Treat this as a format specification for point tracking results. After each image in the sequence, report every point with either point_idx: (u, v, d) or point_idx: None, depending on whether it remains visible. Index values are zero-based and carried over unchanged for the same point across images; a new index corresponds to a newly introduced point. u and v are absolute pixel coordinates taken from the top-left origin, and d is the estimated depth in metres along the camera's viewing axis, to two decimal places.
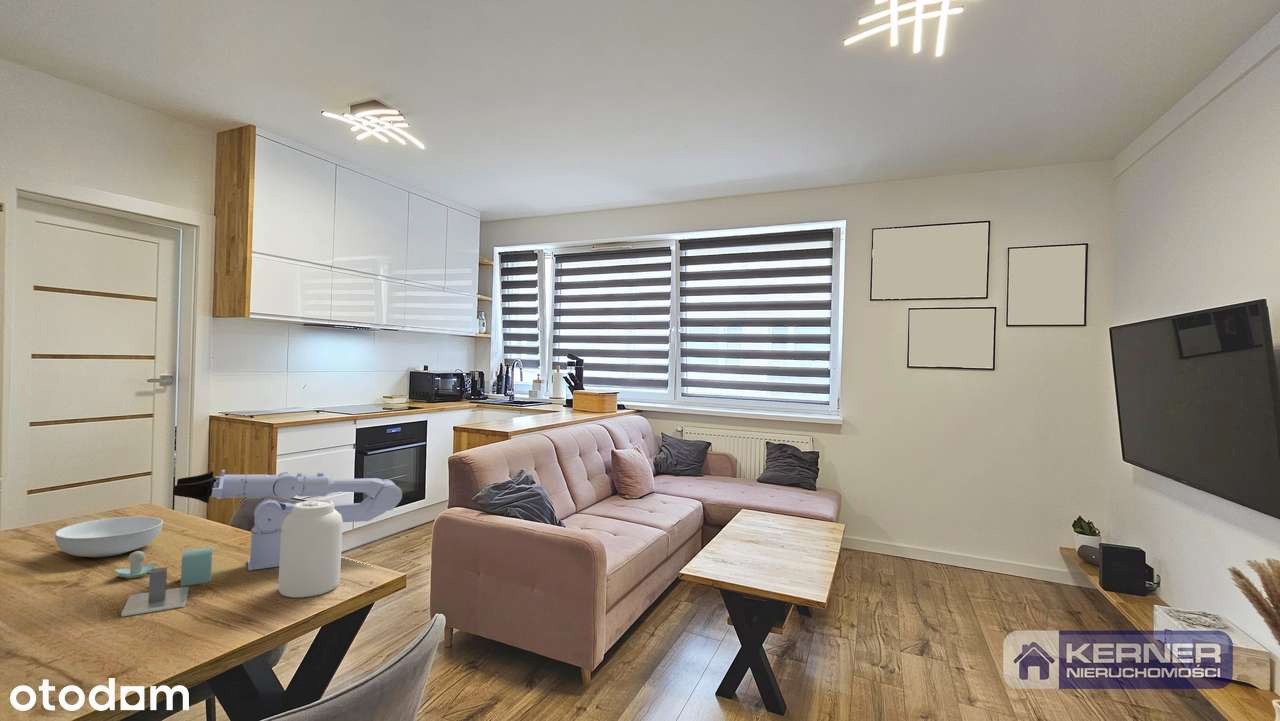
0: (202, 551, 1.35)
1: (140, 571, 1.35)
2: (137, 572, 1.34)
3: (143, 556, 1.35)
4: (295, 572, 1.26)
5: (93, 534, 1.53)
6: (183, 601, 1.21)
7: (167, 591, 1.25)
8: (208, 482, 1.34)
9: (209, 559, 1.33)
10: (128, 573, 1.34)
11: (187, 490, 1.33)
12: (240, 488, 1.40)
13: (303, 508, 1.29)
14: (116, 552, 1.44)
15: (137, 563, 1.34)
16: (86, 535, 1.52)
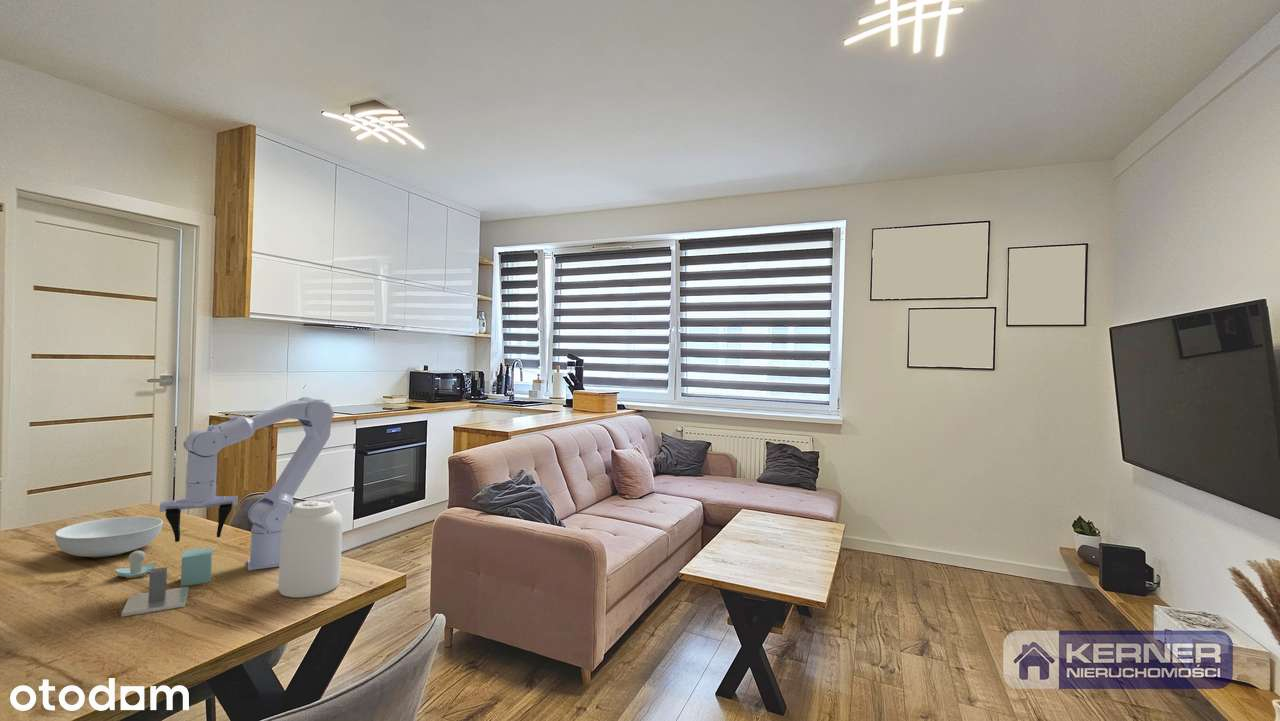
0: (202, 551, 1.35)
1: (140, 571, 1.35)
2: (137, 572, 1.34)
3: (143, 555, 1.35)
4: (295, 572, 1.26)
5: (93, 534, 1.53)
6: (183, 601, 1.21)
7: (167, 591, 1.25)
8: (230, 510, 1.35)
9: (209, 559, 1.33)
10: (128, 573, 1.34)
11: None
12: None
13: (303, 508, 1.29)
14: (116, 552, 1.44)
15: (137, 563, 1.34)
16: (86, 535, 1.52)
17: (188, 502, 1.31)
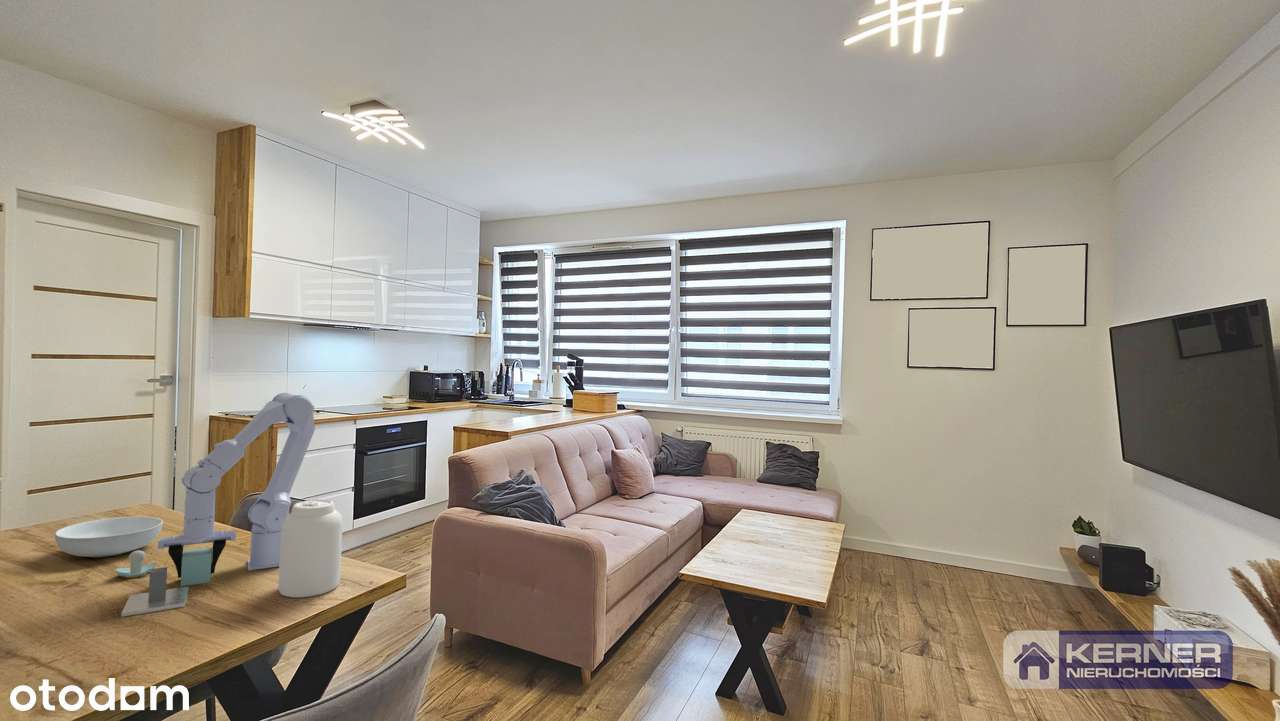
0: (202, 551, 1.35)
1: (140, 570, 1.35)
2: (137, 571, 1.35)
3: (143, 555, 1.35)
4: (295, 572, 1.26)
5: (93, 534, 1.53)
6: (183, 601, 1.21)
7: (167, 591, 1.25)
8: (224, 546, 1.35)
9: (209, 559, 1.33)
10: (128, 572, 1.34)
11: None
12: None
13: (303, 508, 1.29)
14: (116, 552, 1.44)
15: (137, 562, 1.35)
16: (86, 535, 1.52)
17: (186, 539, 1.31)
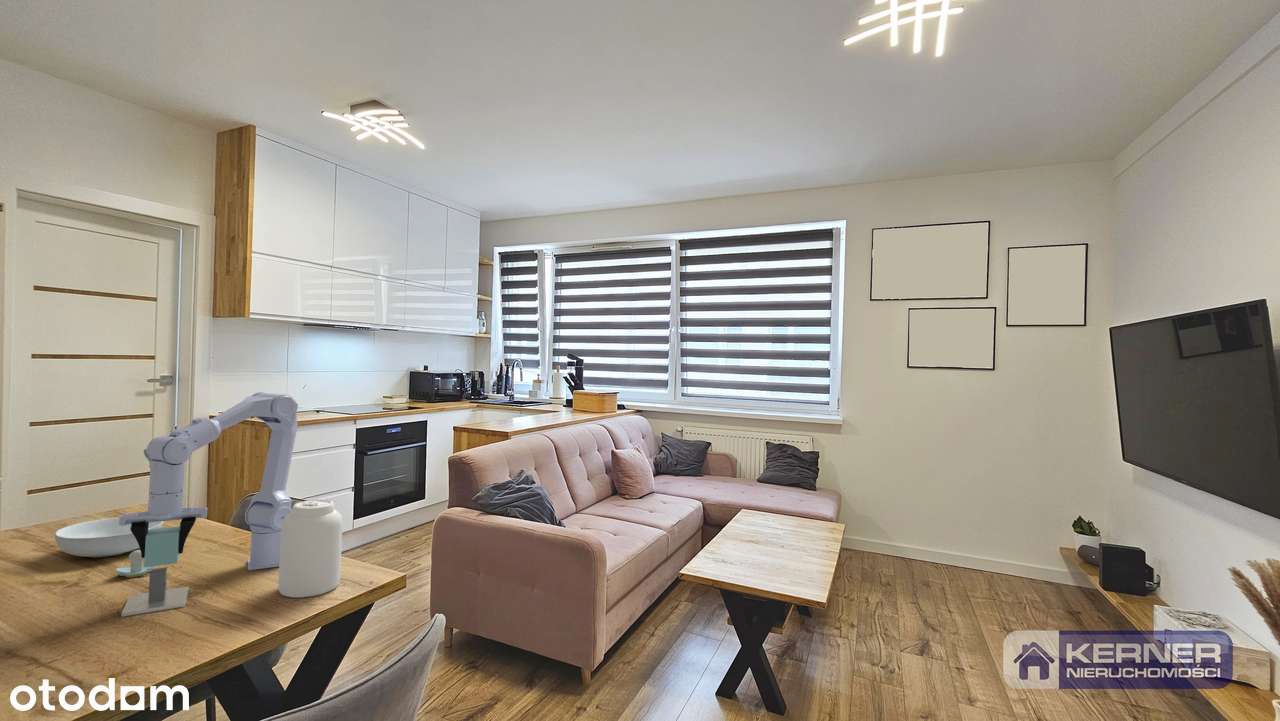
0: (170, 529, 1.24)
1: (140, 570, 1.35)
2: (137, 571, 1.35)
3: None
4: (295, 572, 1.26)
5: (93, 534, 1.53)
6: (183, 601, 1.21)
7: (167, 591, 1.25)
8: (193, 524, 1.24)
9: (176, 538, 1.22)
10: (128, 572, 1.34)
11: None
12: (182, 494, 1.24)
13: (303, 508, 1.29)
14: (116, 552, 1.44)
15: (137, 562, 1.35)
16: (86, 535, 1.52)
17: (151, 515, 1.20)
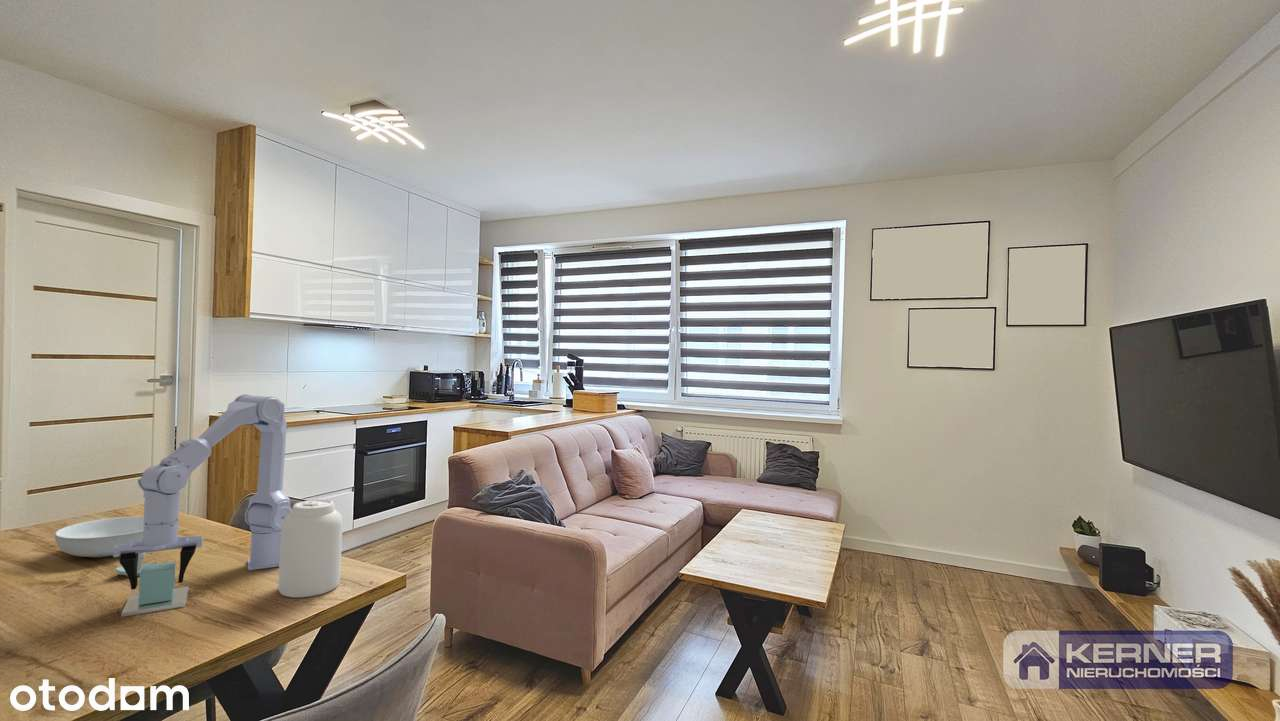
0: (164, 565, 1.22)
1: (140, 569, 1.36)
2: (137, 570, 1.35)
3: (143, 554, 1.36)
4: (295, 572, 1.26)
5: (93, 534, 1.53)
6: (183, 601, 1.21)
7: None
8: (193, 553, 1.23)
9: (171, 575, 1.21)
10: None
11: None
12: (177, 523, 1.23)
13: (303, 508, 1.29)
14: None
15: None
16: (86, 535, 1.52)
17: (145, 545, 1.18)
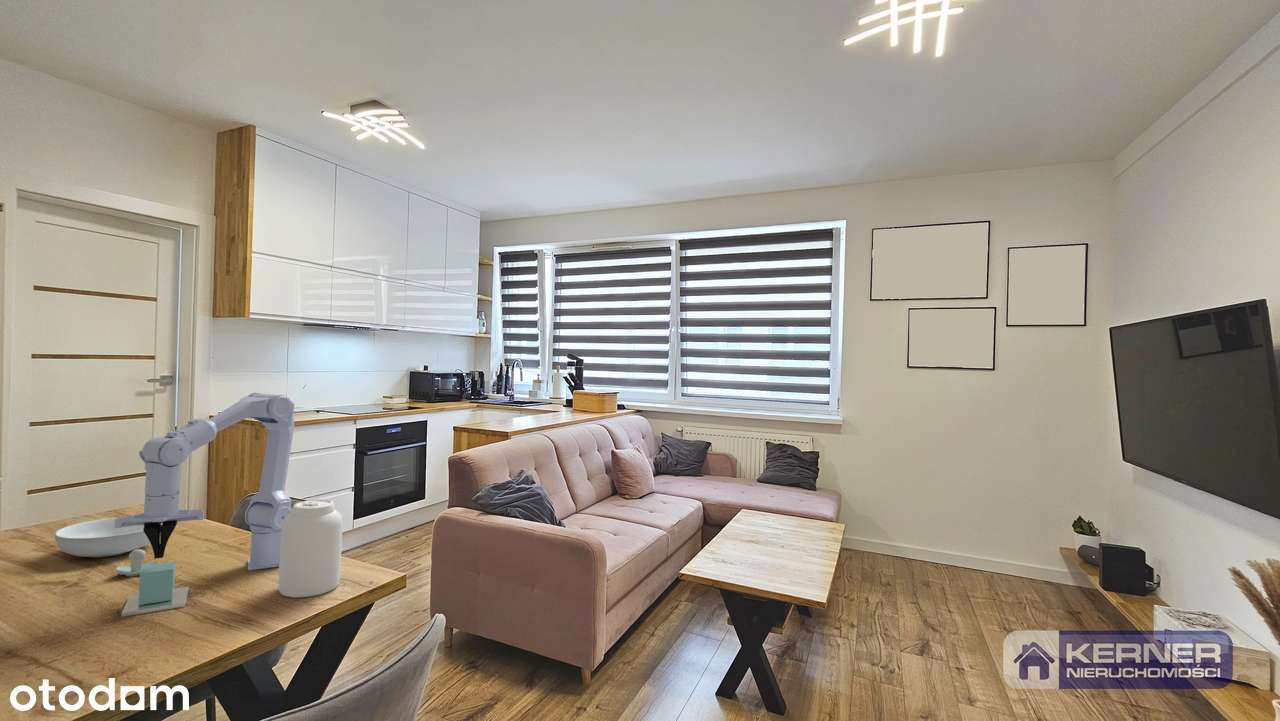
0: (164, 565, 1.22)
1: (140, 569, 1.36)
2: (137, 570, 1.36)
3: (143, 554, 1.36)
4: (295, 572, 1.26)
5: (93, 534, 1.53)
6: (183, 601, 1.21)
7: None
8: None
9: (171, 575, 1.21)
10: (129, 571, 1.35)
11: None
12: None
13: (303, 508, 1.29)
14: (116, 552, 1.44)
15: (137, 561, 1.35)
16: (86, 535, 1.52)
17: (147, 517, 1.19)
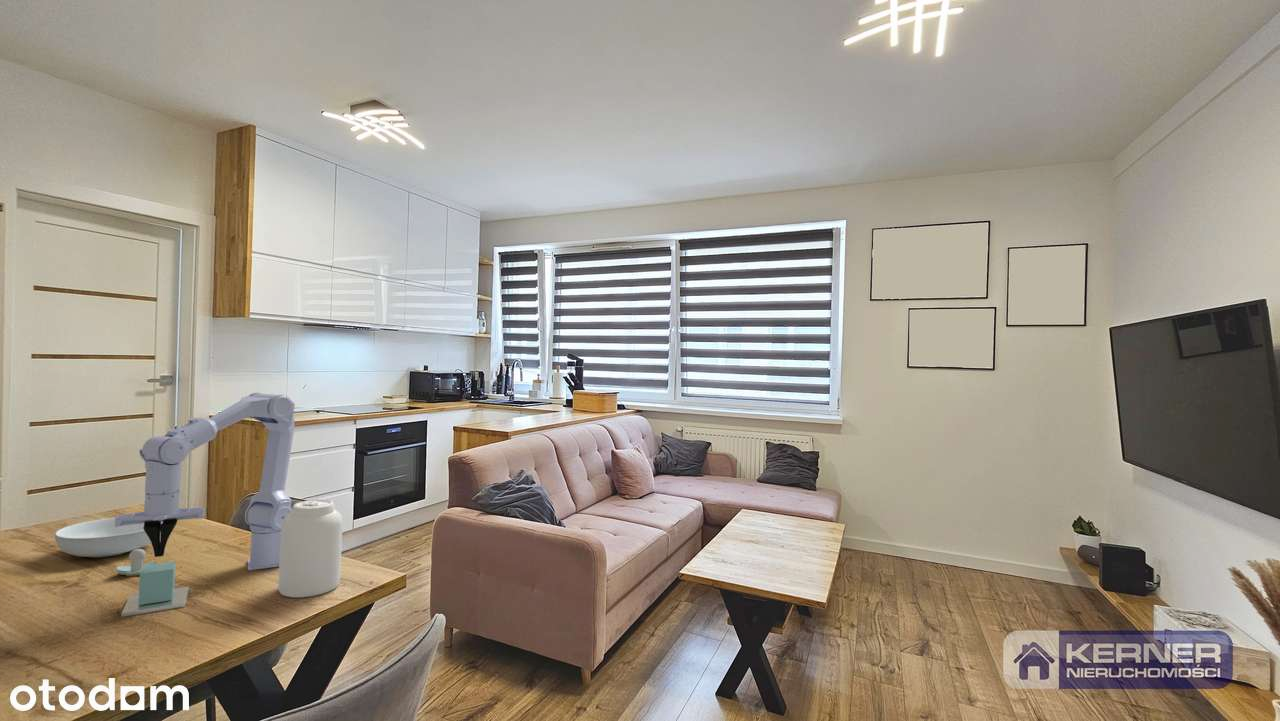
0: (164, 565, 1.22)
1: (140, 569, 1.36)
2: (137, 570, 1.36)
3: (143, 553, 1.36)
4: (295, 572, 1.26)
5: (93, 534, 1.53)
6: (183, 601, 1.21)
7: None
8: (174, 526, 1.21)
9: (171, 575, 1.21)
10: (129, 571, 1.35)
11: None
12: None
13: (303, 508, 1.29)
14: (116, 552, 1.44)
15: (138, 561, 1.36)
16: (86, 535, 1.52)
17: (147, 515, 1.19)
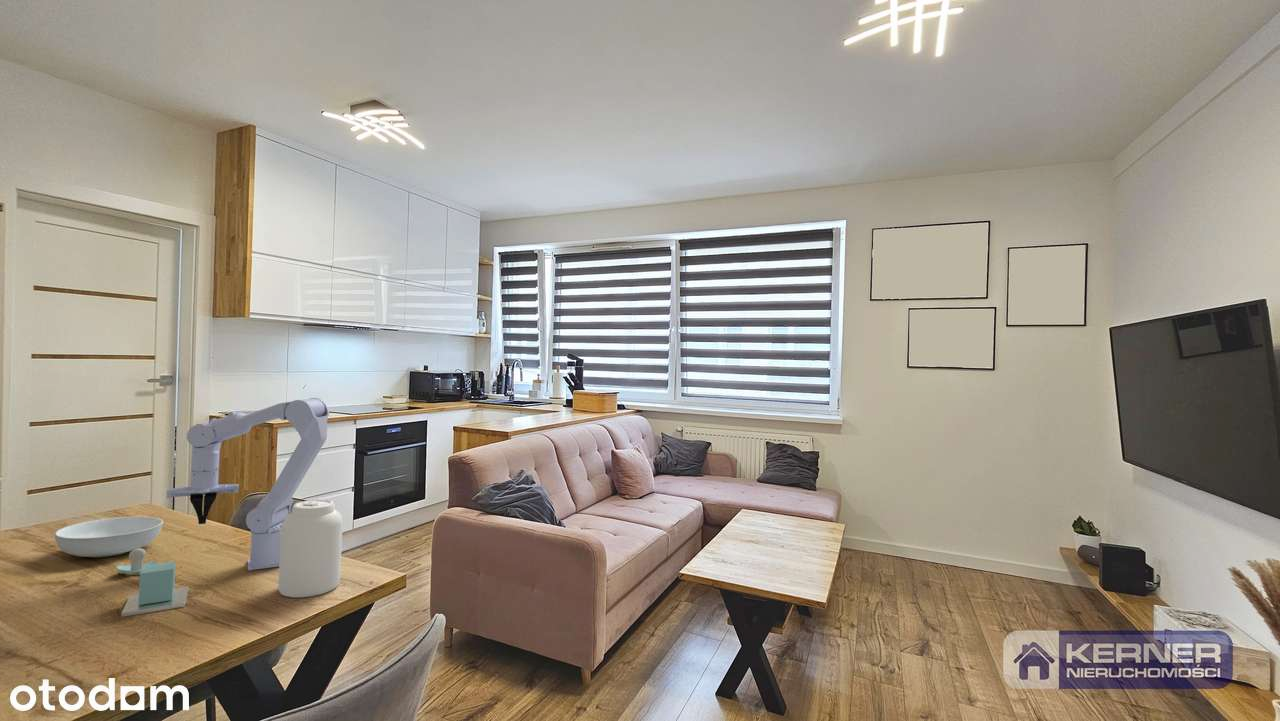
0: (164, 565, 1.22)
1: (141, 568, 1.37)
2: (138, 569, 1.36)
3: (143, 553, 1.37)
4: (295, 572, 1.26)
5: (93, 534, 1.53)
6: (183, 601, 1.21)
7: None
8: (214, 499, 1.44)
9: (171, 575, 1.21)
10: (129, 570, 1.35)
11: None
12: (218, 472, 1.46)
13: (303, 508, 1.29)
14: (116, 552, 1.44)
15: (138, 560, 1.36)
16: (86, 535, 1.52)
17: (193, 489, 1.42)
